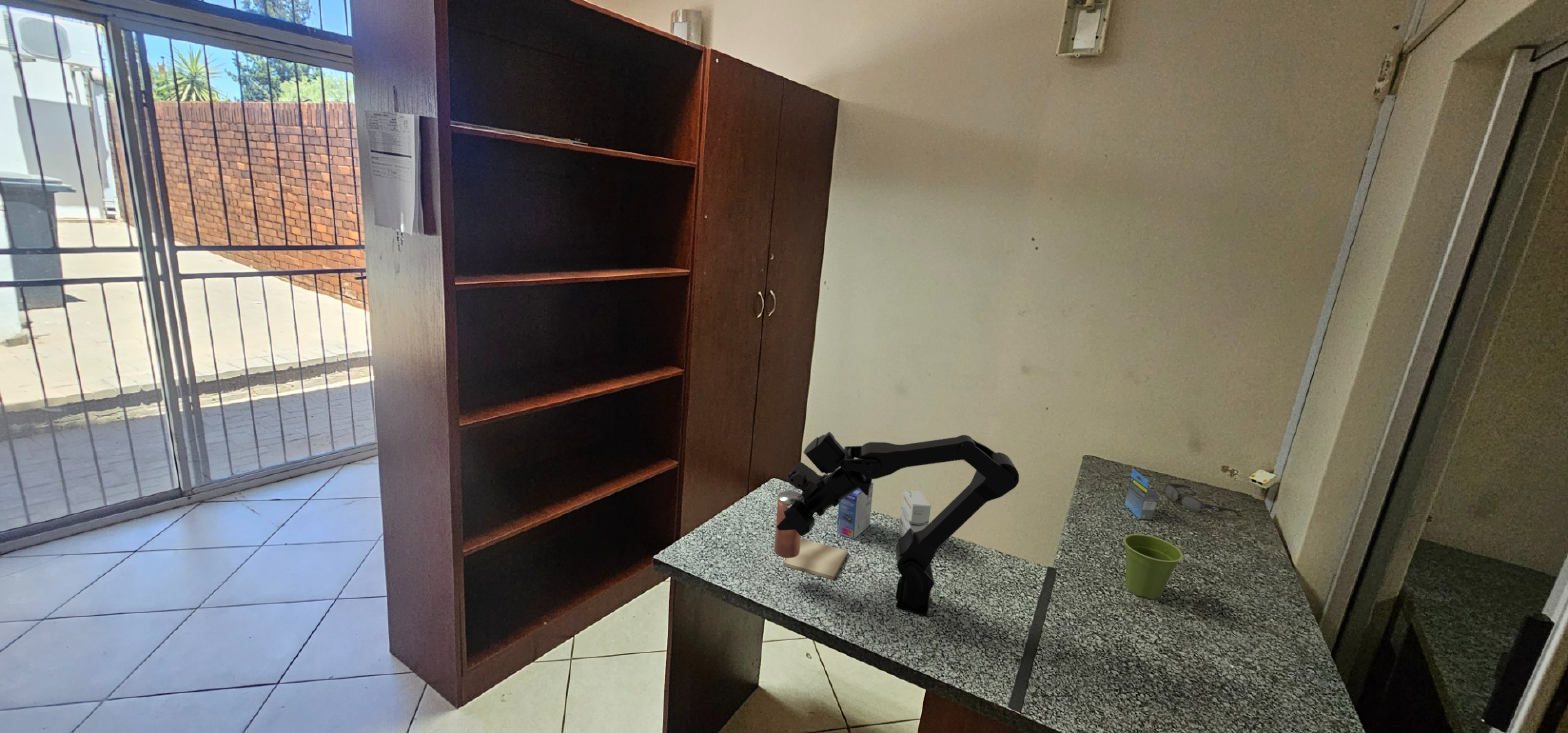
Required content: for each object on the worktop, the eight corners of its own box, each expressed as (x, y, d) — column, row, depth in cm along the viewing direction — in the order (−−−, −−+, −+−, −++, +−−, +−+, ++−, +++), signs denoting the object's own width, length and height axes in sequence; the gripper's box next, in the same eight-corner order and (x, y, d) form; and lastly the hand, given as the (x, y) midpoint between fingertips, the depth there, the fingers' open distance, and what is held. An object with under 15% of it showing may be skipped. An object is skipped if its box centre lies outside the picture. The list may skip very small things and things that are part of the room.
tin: (803, 548, 135) (808, 494, 132) (794, 560, 130) (799, 505, 127) (779, 541, 137) (783, 488, 134) (770, 554, 132) (773, 499, 129)
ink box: (926, 548, 152) (932, 505, 149) (906, 548, 152) (912, 505, 149) (915, 531, 160) (921, 490, 158) (897, 530, 160) (902, 489, 157)
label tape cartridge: (1152, 520, 177) (1162, 481, 174) (1139, 519, 177) (1148, 480, 174) (1136, 506, 185) (1144, 468, 182) (1123, 505, 185) (1131, 467, 182)
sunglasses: (1154, 494, 196) (1159, 479, 195) (1195, 497, 200) (1200, 483, 199) (1199, 519, 180) (1205, 503, 179) (1242, 522, 185) (1247, 507, 184)
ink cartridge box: (851, 518, 165) (857, 468, 161) (870, 525, 162) (876, 474, 158) (834, 532, 156) (839, 481, 153) (853, 540, 154) (859, 487, 150)
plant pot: (1122, 569, 149) (1132, 528, 146) (1178, 593, 141) (1189, 549, 138) (1106, 587, 141) (1116, 544, 138) (1163, 613, 133) (1175, 567, 130)
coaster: (847, 553, 147) (847, 550, 147) (833, 579, 136) (833, 576, 136) (800, 541, 151) (801, 538, 151) (783, 565, 140) (783, 562, 140)
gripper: (825, 441, 135) (776, 476, 142) (797, 471, 118) (742, 510, 125) (856, 481, 135) (805, 515, 141) (832, 518, 118) (775, 554, 124)
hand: (783, 522), depth 133 cm, fingers closed on tin, 6 cm apart
